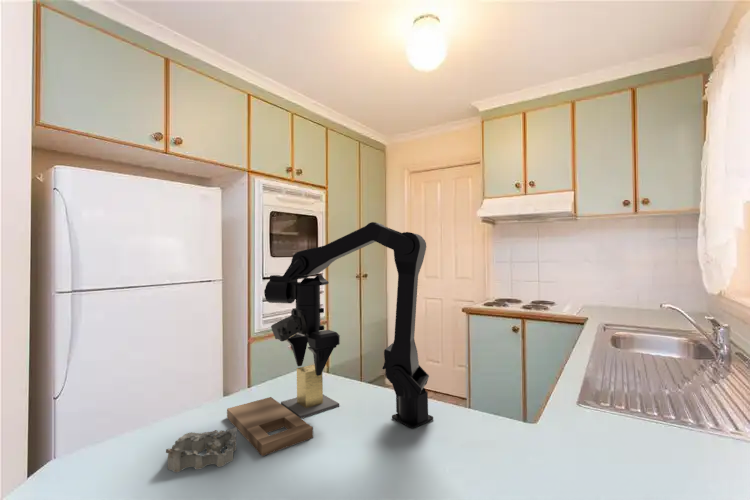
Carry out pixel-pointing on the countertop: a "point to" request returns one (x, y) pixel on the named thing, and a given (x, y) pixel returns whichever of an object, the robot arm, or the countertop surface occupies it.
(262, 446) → the walnut board
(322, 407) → the rubber mat
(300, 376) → the brass plug
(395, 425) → the countertop surface
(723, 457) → the countertop surface
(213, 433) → the egg carton
